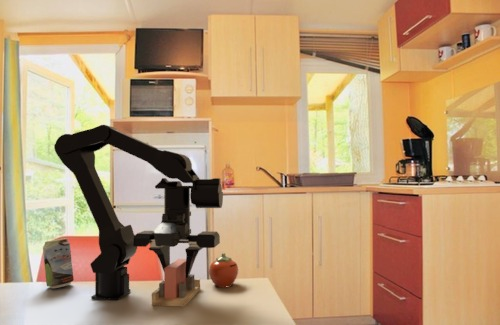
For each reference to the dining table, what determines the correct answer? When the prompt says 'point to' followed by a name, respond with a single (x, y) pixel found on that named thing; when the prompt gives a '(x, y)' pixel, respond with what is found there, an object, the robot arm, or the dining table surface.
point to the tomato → (223, 271)
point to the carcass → (184, 293)
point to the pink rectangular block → (174, 278)
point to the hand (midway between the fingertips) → (177, 277)
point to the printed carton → (58, 263)
